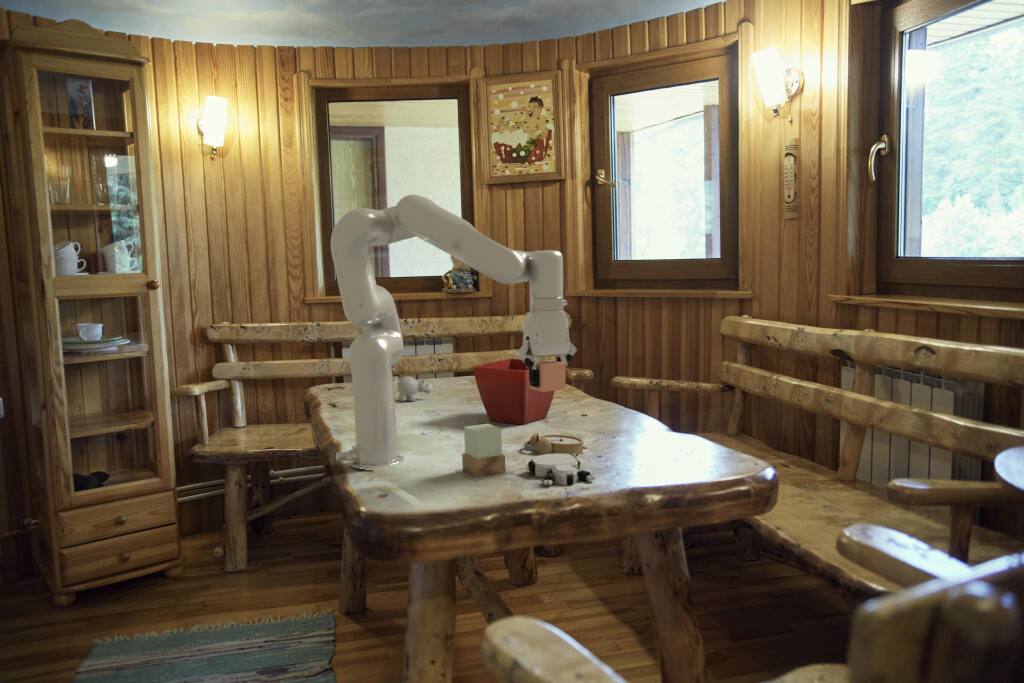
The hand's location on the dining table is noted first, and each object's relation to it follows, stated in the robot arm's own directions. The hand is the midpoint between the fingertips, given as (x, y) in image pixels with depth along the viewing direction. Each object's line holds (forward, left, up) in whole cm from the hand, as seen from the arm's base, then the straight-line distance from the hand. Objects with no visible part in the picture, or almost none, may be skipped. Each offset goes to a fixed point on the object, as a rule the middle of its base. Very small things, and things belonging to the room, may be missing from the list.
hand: (547, 384), depth 179 cm
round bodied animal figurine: (+10, +102, -20) cm, 104 cm away
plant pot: (+22, +52, -20) cm, 60 cm away
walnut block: (-16, +2, -18) cm, 24 cm away
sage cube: (-16, +2, -14) cm, 21 cm away
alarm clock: (+9, +11, -20) cm, 24 cm away
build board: (-16, +2, -19) cm, 25 cm away
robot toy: (-4, -10, -20) cm, 23 cm away
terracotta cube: (0, 0, -1) cm, 1 cm away
